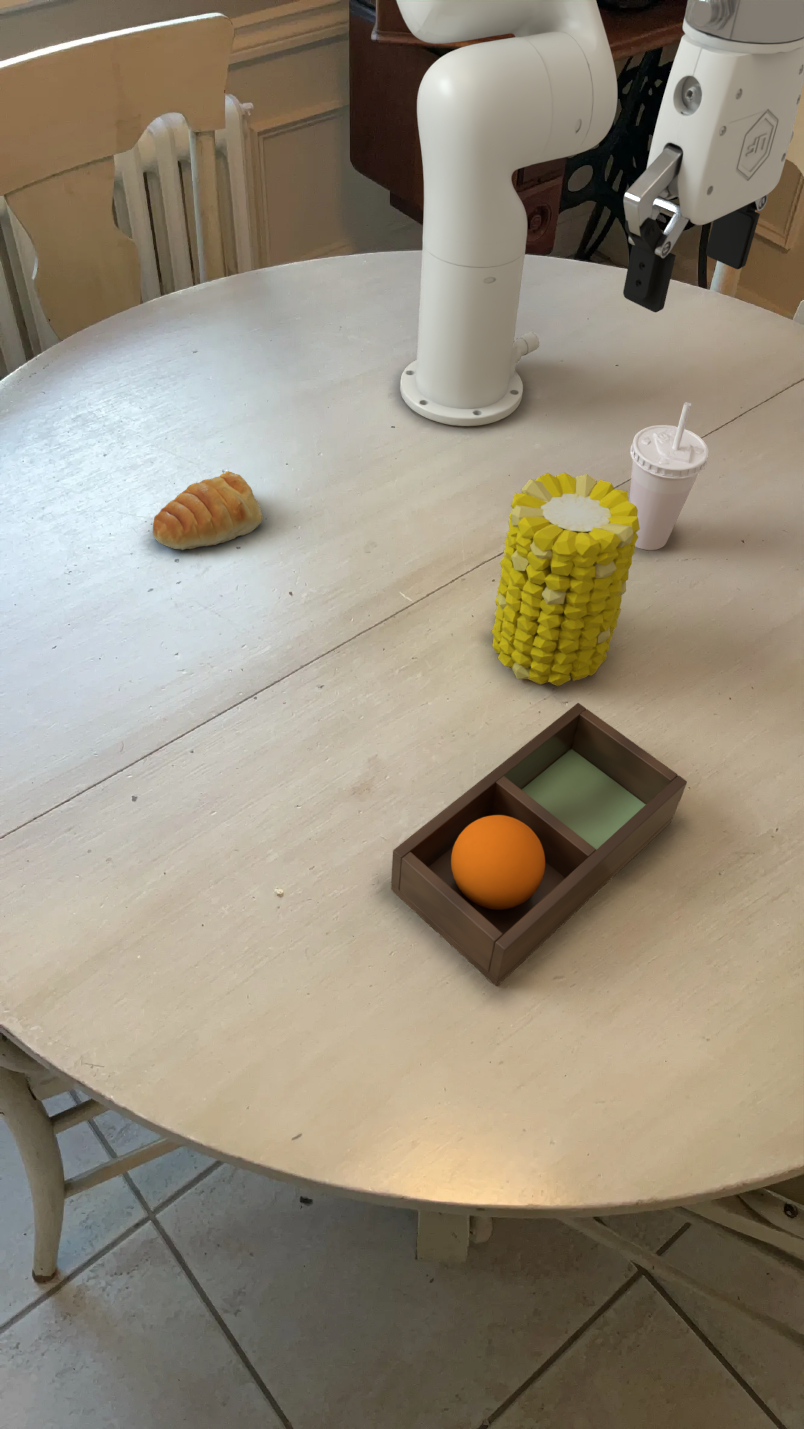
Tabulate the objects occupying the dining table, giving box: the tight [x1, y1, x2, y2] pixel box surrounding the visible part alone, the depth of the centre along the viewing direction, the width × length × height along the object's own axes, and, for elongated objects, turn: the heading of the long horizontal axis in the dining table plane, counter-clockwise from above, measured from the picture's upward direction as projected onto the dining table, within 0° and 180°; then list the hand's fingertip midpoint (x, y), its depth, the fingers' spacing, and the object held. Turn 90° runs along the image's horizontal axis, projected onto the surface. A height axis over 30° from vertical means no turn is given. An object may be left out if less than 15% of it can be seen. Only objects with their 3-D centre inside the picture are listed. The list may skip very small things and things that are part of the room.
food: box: [491, 472, 640, 687], centre depth 80 cm, size 15×12×10 cm
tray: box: [390, 702, 688, 987], centre depth 70 cm, size 10×18×5 cm, turn 134°
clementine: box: [451, 815, 545, 910], centre depth 67 cm, size 6×6×6 cm
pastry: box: [152, 470, 264, 551], centre depth 92 cm, size 9×7×4 cm
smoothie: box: [628, 401, 710, 551], centre depth 89 cm, size 6×6×14 cm
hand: (684, 282), depth 76 cm, fingers open, 9 cm apart
